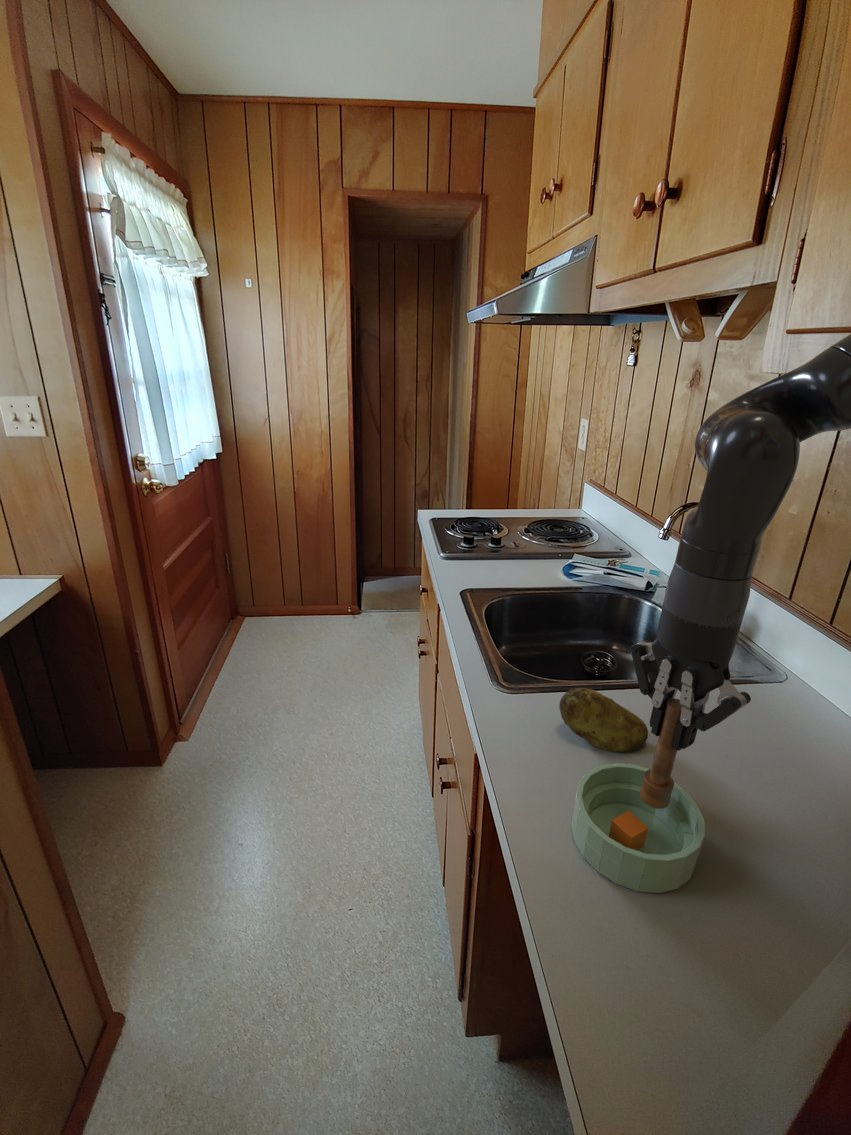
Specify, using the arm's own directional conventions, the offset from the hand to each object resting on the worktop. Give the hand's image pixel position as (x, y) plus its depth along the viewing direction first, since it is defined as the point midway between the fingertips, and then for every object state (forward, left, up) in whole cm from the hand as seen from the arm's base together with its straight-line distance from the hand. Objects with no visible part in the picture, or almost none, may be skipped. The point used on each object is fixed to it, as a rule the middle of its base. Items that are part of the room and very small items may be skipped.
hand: (669, 738), depth 64 cm
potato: (-8, -15, -15) cm, 23 cm away
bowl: (+3, 0, -15) cm, 15 cm away
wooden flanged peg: (0, 0, -9) cm, 9 cm away
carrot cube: (+4, 0, -14) cm, 15 cm away
